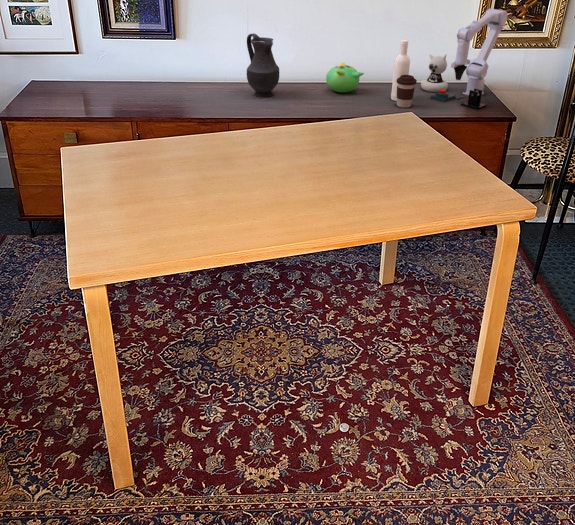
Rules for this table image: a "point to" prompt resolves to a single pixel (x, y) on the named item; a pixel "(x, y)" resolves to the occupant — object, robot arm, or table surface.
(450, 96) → the button box
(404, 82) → the coffee cup
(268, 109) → the table surface
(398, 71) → the bottle
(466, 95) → the lever
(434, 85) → the decorative figurine
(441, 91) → the stop button
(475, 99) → the bracket
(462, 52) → the robot arm
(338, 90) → the toy bird
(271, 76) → the pitcher
